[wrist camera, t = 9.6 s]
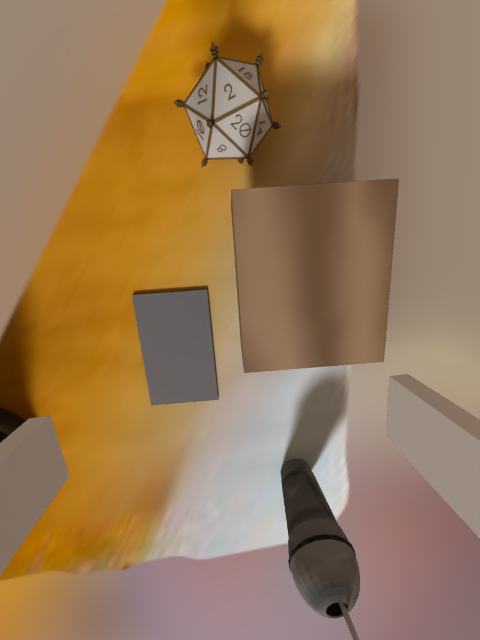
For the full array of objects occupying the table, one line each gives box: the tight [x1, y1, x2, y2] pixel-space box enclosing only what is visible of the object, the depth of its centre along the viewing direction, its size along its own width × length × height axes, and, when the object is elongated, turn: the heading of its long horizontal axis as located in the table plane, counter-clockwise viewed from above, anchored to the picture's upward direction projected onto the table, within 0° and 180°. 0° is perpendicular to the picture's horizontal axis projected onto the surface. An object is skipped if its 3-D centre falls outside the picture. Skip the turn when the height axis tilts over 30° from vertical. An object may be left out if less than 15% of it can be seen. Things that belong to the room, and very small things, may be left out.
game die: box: [174, 42, 281, 167], centre depth 23 cm, size 9×8×10 cm
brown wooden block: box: [231, 179, 399, 373], centre depth 21 cm, size 11×13×6 cm
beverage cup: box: [281, 459, 360, 640], centre depth 29 cm, size 7×7×20 cm
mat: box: [132, 289, 218, 405], centre depth 32 cm, size 9×15×1 cm, turn 4°
